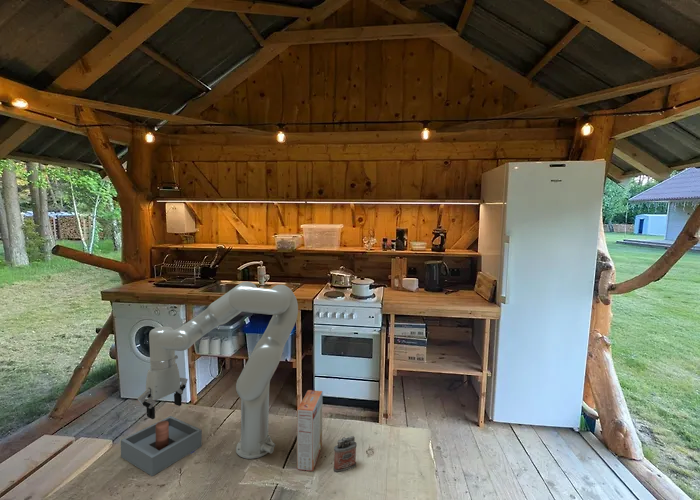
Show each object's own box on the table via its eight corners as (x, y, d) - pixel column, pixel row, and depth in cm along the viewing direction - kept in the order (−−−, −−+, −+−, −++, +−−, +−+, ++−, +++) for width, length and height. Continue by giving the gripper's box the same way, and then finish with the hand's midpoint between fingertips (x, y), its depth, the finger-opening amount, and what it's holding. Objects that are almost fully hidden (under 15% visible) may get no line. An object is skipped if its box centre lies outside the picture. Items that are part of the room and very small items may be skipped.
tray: (201, 446, 123) (201, 429, 123) (152, 476, 107) (152, 457, 107) (170, 431, 132) (170, 415, 131) (120, 457, 116) (120, 439, 116)
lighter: (336, 474, 110) (336, 444, 110) (331, 467, 113) (332, 438, 113) (357, 467, 114) (358, 437, 114) (353, 460, 117) (353, 432, 117)
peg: (171, 450, 120) (171, 422, 120) (160, 456, 117) (160, 428, 116) (164, 446, 122) (164, 419, 122) (153, 452, 119) (153, 424, 118)
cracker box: (306, 444, 126) (307, 388, 125) (322, 446, 125) (323, 390, 124) (295, 470, 112) (296, 408, 111) (313, 472, 111) (314, 409, 110)
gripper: (179, 353, 128) (181, 398, 128) (130, 370, 112) (133, 420, 113) (192, 356, 124) (194, 402, 125) (144, 374, 109) (146, 426, 110)
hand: (165, 411), depth 119 cm, fingers open, 9 cm apart
